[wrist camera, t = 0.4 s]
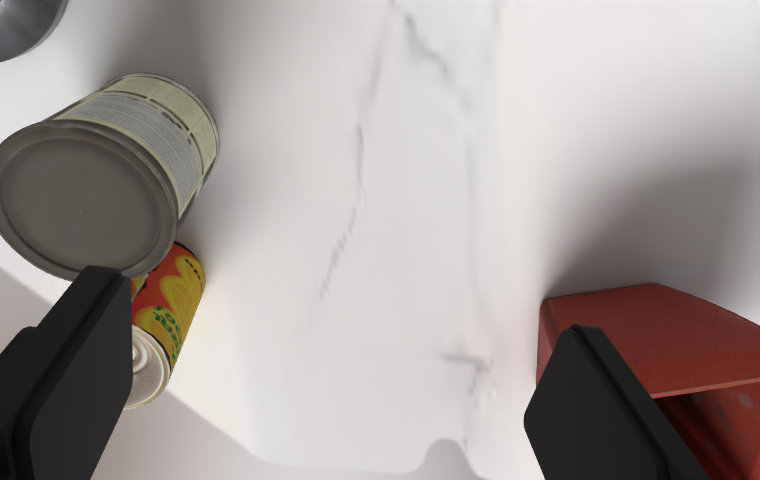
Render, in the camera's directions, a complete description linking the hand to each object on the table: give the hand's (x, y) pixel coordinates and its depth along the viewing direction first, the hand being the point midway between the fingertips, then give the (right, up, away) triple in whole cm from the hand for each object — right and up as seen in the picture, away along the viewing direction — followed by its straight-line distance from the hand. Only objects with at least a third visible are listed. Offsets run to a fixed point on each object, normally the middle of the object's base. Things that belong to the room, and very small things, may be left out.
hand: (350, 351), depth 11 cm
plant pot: (+24, -8, +45) cm, 52 cm away
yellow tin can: (-20, -1, +37) cm, 42 cm away
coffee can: (-18, +11, +31) cm, 37 cm away
